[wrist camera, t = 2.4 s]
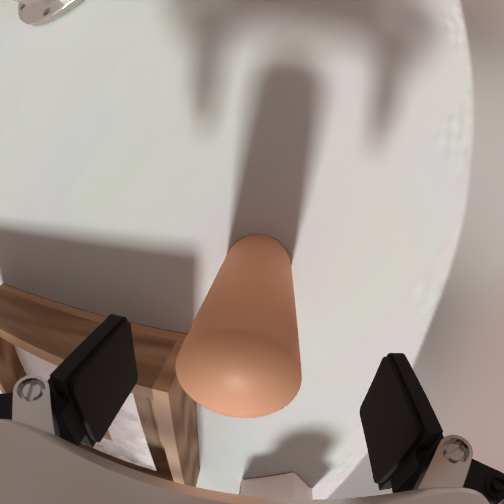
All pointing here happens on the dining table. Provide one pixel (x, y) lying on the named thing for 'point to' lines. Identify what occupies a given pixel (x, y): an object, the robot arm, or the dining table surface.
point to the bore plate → (116, 422)
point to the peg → (245, 335)
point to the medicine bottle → (277, 487)
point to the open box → (147, 360)
